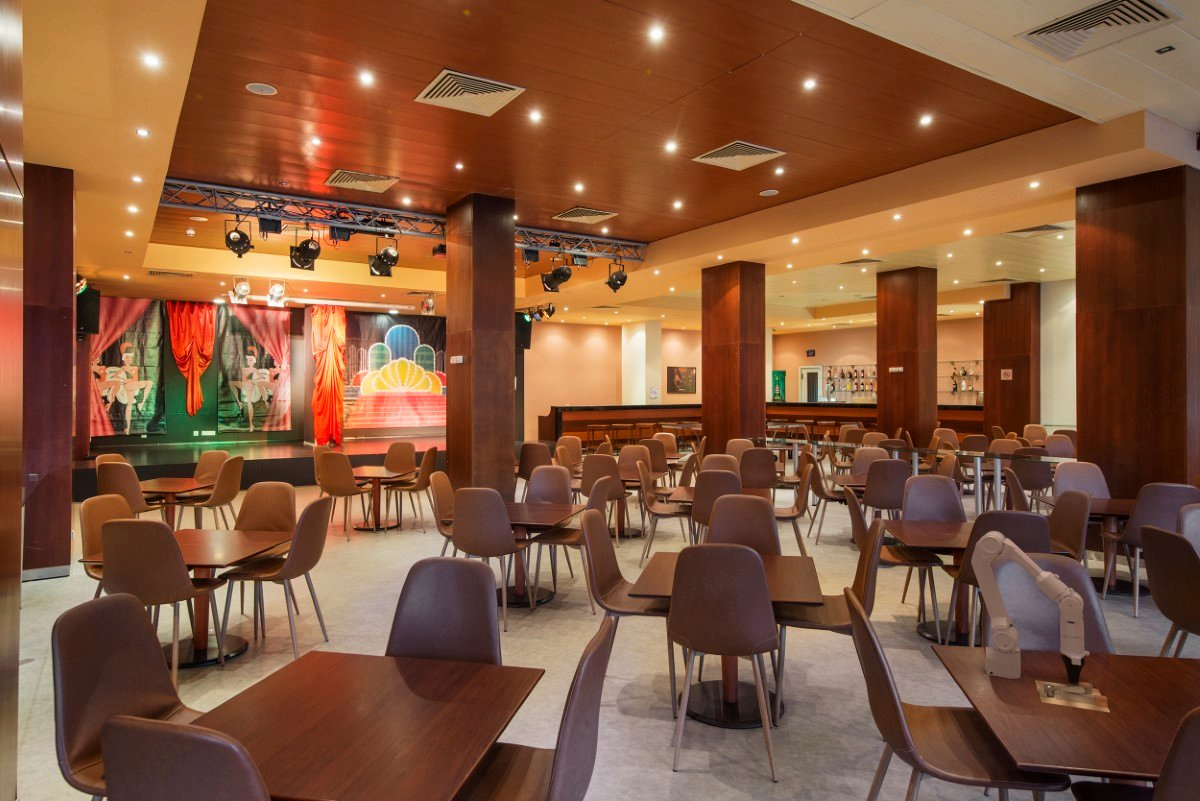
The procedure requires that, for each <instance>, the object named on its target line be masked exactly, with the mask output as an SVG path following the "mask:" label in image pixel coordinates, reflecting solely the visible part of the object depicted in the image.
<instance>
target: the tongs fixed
mask: <svg viewBox="0 0 1200 801" xmlns="http://www.w3.org/2000/svg"><path fill="white" fill-rule="evenodd" d="M1038 690H1039V692H1038V694H1039V698H1040V697H1044V698H1047V697H1054V686H1053V685H1050V684H1044V688H1038V689H1037V691H1038ZM1056 699H1059V700H1066V701H1072V702H1079V703H1086V704H1093V705H1096V706H1101V707H1108V705H1109V704H1108V701H1109V700H1108V697H1107V696H1106V695H1101V696H1100V695H1088V694H1081V693H1074V692H1067V691H1060V690H1056ZM1108 708H1109V707H1108Z"/></svg>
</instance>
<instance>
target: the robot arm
mask: <svg viewBox="0 0 1200 801" xmlns="http://www.w3.org/2000/svg"><path fill="white" fill-rule="evenodd" d="M999 554H1000V555H999ZM997 555H999V557H1000V558H1004V559H1010V560H1012V561H1013V562H1015V564H1017V565H1018V566H1019V567H1021V568H1022V569H1023V570H1024V571H1026V572H1027V573H1028V574H1029V575H1031V577H1033V578H1034V580H1035V581H1034V582H1035V583H1034V584H1035V586H1036V587H1038V588H1039V589H1040V590H1041V591H1042V592H1043V593H1044V594H1045V595H1046V596H1047V597H1049V599H1051V601H1053V602H1054V603H1057V604H1058V609H1059V610H1060V618H1059V626H1060V627H1059V628H1060V630H1059V631H1060V633H1059V634H1060V648H1059V652H1060V653H1061V655H1060V657H1061V660H1062V662H1063V664H1064V667H1065V672H1066V678H1067V680H1068V682H1069V684H1078V683H1080V682H1079V681H1080V678H1081V672H1082V670H1083V668H1084V666H1085V665H1086V660H1085V658H1084V657H1085V656H1090V651H1087V650H1085V628H1084V627H1085V625H1084V624H1085V622H1084V620H1083V619H1084V614H1083V611H1084V606H1085V605H1084V604H1085V603H1084V599H1083V598H1082V596H1081V595H1080V593H1078V592H1076V591H1075V590H1074V588H1072V587H1068V586H1067V585H1066V584H1065V583H1064V582H1062V581H1061V579H1060V575H1058V574H1057V573H1055V574H1054V573H1052V571H1045V570H1043V569H1042V568H1041V567H1039V565H1037V563H1035V561H1034V560H1032V559H1031V558H1030V557H1029V555H1027V554H1026V553H1025V552H1024V551H1023V550H1021V548H1020V547H1019V546H1017V544H1015V543H1014V542H1013V541H1012V539H1010V538H1008V537H1006V536H1005V535H1004V534H1003V533H1001V532H1000V531H997V530H991V531H988V532H987V533H986V534H984V535H983V536H981V537H980V539H979V540H978V541H976V543H975V547H974V551H973V553H972V558H971V561H970V562H971V563H970V564H971V566H972V569H973V572H974V575H975V577H976V580H977V583H978V586H979V591H980V592H981V595H982V598H983V601H984V604H985V606H986V609H987V612H988V615H989V618H990V627H991V630H992V639H991V641H992V644H993V645H992V646H985V665H984V671H985V672H986V676H987V675H988V676H993V677H999V678H1005V679H1010V680H1011V679H1012V680H1013V679H1014V680H1015V679H1017V680H1018V679H1020V678H1021V677H1022V676H1021V675H1022V674H1021V670H1022V669H1021V668H1022V666H1021V648H1020V647H1019V646H1018V644H1017V643H1018V642H1019V640H1020V638H1021V633H1020V631H1019V629H1018V628H1017V627H1016V626H1015V625H1014V623H1013V621H1012V618H1011V617H1010V616H1009V614H1008V612H1007V609H1006V605H1005V603H1004V600H1003V597H1002V595H1001V592H1000V589H999V586H998V583H997V580H996V578H995V575H994V571H993V569H992V565H991V563H992V561H993V560H994V558H996V556H997Z"/></svg>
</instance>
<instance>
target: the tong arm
mask: <svg viewBox="0 0 1200 801" xmlns="http://www.w3.org/2000/svg"><path fill="white" fill-rule="evenodd" d="M1061 684H1062V685H1053V686H1054V694H1056V690H1060V691H1067V692H1074V693H1093V688H1094V685H1093V684H1091V683H1090V682H1084V681H1083V682H1078V684H1076V683H1067V684H1066V683H1061Z"/></svg>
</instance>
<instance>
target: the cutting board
mask: <svg viewBox="0 0 1200 801" xmlns="http://www.w3.org/2000/svg"><path fill="white" fill-rule="evenodd" d="M1044 684H1050V685H1062V684H1063V683H1058V682H1050V681H1043V680H1037V679H1035V685H1036V689H1037V692H1038V693H1039V690H1038V688H1044ZM1081 694H1088V695H1100V696H1102V693H1101V692H1100V690H1099V689H1098V688H1094V687H1093V693H1081ZM1039 698H1040V702H1041V703H1045V704H1050V705H1051V704H1052V705H1059V706H1065V707H1070V708H1071V707H1073V708H1077V709H1084V710H1092V711H1097V712H1105V713H1111V711H1110V709H1109V707H1101V706H1096V705H1093V704H1086V703H1079V702H1072V701H1066V700H1059V699H1056V694H1054V697H1047V698H1044V697H1040V696H1039Z"/></svg>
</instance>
